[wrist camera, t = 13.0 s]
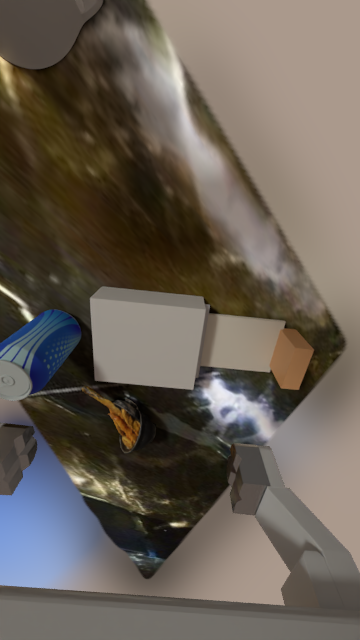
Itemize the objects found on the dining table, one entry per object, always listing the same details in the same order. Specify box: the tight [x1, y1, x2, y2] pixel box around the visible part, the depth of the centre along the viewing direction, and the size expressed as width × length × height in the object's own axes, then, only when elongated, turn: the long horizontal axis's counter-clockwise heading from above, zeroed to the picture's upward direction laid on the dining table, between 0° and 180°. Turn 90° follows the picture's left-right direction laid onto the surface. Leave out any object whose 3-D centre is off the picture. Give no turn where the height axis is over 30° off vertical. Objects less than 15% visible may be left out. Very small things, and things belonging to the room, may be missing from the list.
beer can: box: [0, 310, 81, 401], centre depth 39 cm, size 8×8×16 cm
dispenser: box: [90, 287, 210, 390], centre depth 44 cm, size 16×19×6 cm
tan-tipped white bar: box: [200, 313, 314, 390], centre depth 42 cm, size 11×22×7 cm, turn 84°
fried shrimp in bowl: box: [82, 386, 156, 453], centre depth 51 cm, size 9×11×18 cm
